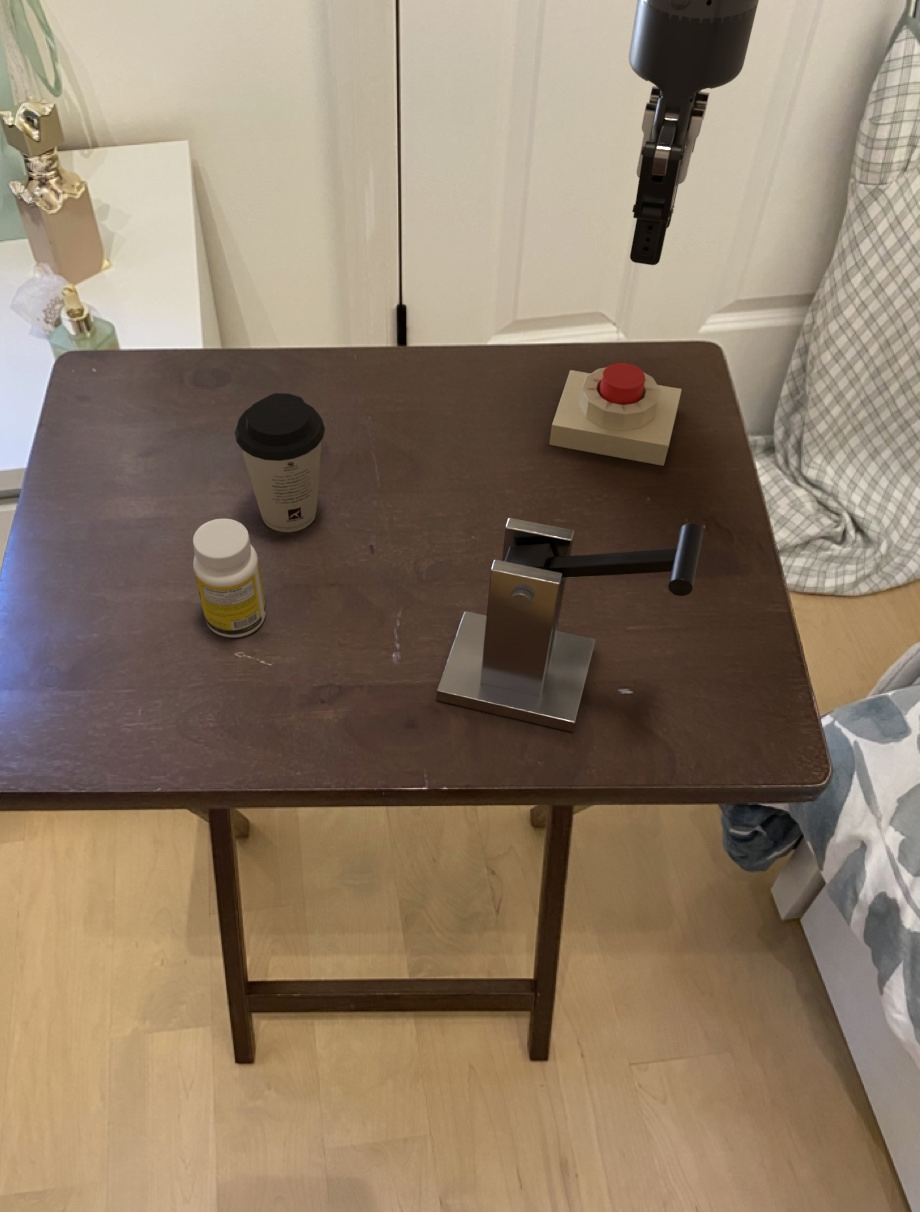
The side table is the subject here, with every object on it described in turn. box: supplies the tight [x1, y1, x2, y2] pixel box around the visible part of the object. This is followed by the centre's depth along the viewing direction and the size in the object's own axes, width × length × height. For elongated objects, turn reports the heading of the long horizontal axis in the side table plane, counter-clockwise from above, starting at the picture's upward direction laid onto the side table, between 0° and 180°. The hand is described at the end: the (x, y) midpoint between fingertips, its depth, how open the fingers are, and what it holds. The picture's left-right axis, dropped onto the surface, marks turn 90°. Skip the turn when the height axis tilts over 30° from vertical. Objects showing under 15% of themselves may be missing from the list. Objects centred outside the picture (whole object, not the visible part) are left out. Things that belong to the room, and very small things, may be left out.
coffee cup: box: [234, 392, 326, 533], centre depth 86 cm, size 7×7×10 cm
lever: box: [505, 522, 704, 597], centre depth 69 cm, size 12×5×2 cm, turn 73°
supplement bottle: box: [192, 518, 267, 638], centre depth 80 cm, size 5×5×8 cm
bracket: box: [436, 517, 596, 733], centre depth 75 cm, size 10×8×13 cm
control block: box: [549, 366, 683, 467], centre depth 95 cm, size 10×8×4 cm
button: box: [600, 362, 645, 405], centre depth 93 cm, size 4×4×2 cm
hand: (649, 242), depth 82 cm, fingers open, 4 cm apart
